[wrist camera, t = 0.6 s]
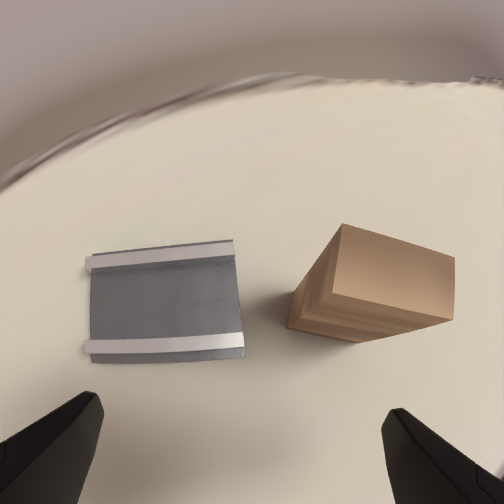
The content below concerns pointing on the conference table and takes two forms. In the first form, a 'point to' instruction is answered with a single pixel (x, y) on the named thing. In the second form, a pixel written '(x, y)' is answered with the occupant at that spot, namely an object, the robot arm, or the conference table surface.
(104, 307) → the door track
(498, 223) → the conference table surface
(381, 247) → the upright wooden block
